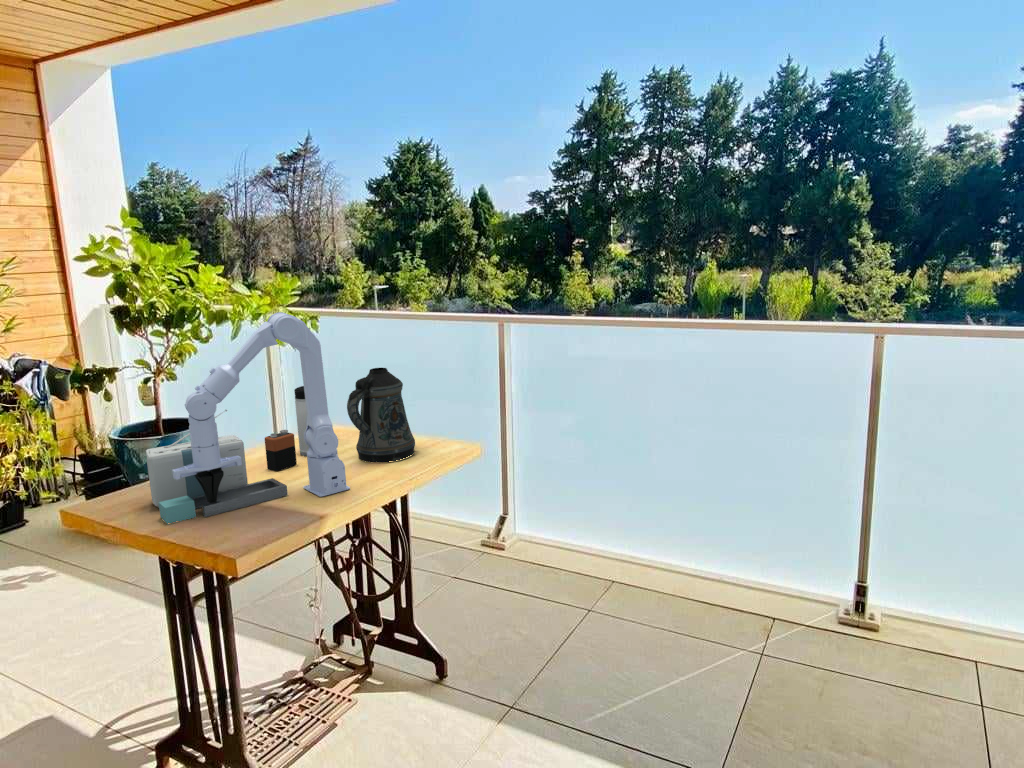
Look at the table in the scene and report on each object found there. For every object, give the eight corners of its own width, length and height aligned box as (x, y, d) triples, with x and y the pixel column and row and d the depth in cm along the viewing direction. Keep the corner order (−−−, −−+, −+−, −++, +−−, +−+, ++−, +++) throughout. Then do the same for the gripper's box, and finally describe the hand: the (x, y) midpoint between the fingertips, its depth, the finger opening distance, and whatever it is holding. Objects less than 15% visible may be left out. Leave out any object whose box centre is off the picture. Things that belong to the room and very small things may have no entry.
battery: (297, 465, 192) (294, 430, 190) (277, 472, 186) (273, 435, 184) (287, 463, 194) (284, 428, 192) (266, 469, 188) (263, 433, 187)
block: (196, 518, 155) (194, 500, 154) (167, 525, 151) (165, 507, 151) (189, 512, 159) (187, 495, 158) (160, 519, 155) (158, 502, 154)
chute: (273, 487, 173) (272, 478, 173) (287, 495, 167) (286, 485, 167) (193, 508, 161) (191, 497, 160) (205, 517, 155) (203, 506, 154)
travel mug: (327, 452, 203) (321, 385, 200) (307, 457, 199) (301, 388, 195) (315, 448, 207) (309, 382, 204) (295, 453, 203) (289, 386, 199)
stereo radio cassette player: (155, 512, 159) (144, 427, 156) (149, 502, 166) (138, 420, 162) (249, 491, 171) (241, 412, 167) (240, 483, 178) (232, 407, 174)
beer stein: (422, 447, 206) (417, 363, 201) (403, 467, 187) (397, 375, 182) (368, 446, 208) (362, 364, 203) (344, 466, 189) (337, 375, 184)
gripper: (231, 435, 165) (237, 489, 167) (165, 447, 155) (173, 505, 158) (242, 440, 159) (248, 496, 162) (175, 454, 150) (182, 513, 153)
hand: (212, 501), depth 159 cm, fingers closed
